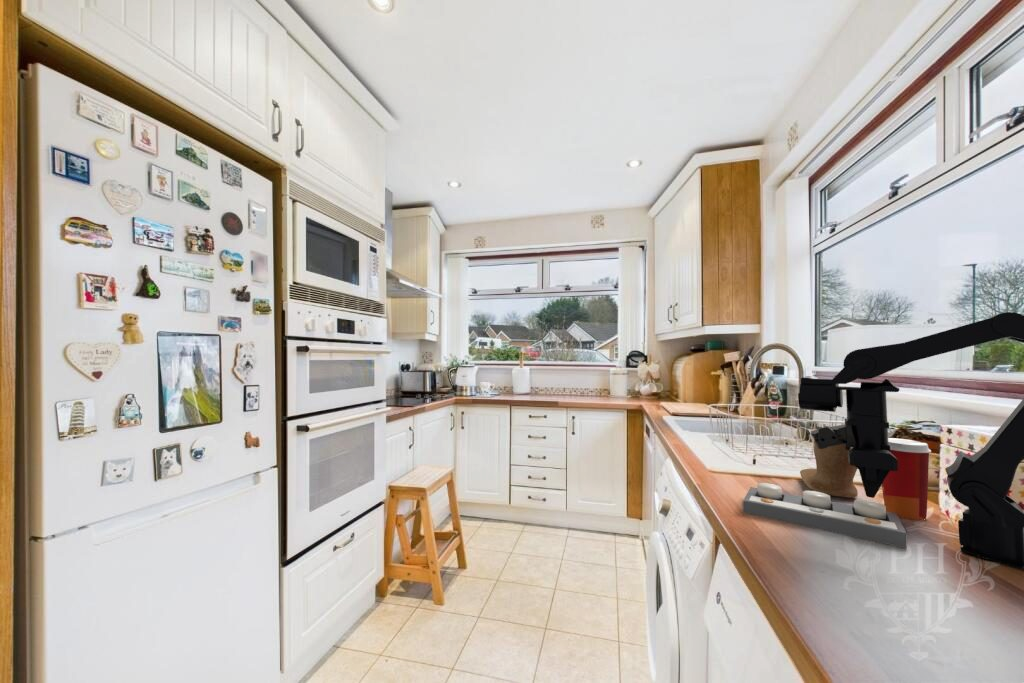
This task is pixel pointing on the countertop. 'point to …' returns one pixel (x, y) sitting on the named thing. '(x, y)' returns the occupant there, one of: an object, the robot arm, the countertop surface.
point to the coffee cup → (907, 480)
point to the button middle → (816, 499)
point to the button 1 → (769, 491)
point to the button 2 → (870, 509)
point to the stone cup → (831, 472)
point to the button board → (827, 518)
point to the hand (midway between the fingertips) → (870, 496)
